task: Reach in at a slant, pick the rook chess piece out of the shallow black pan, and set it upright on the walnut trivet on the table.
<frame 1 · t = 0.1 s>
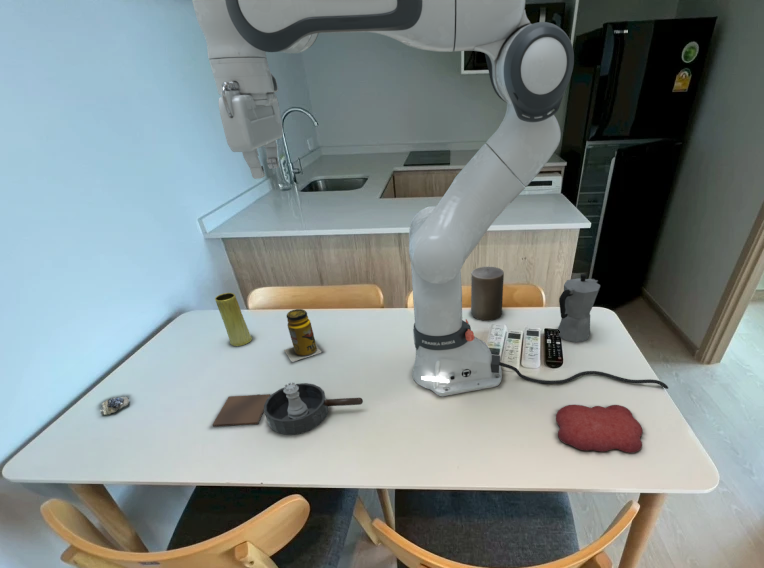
hand: (267, 172, 76), 48 cm above the table, tool pointing down, fingers open, 8 cm apart
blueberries: (114, 406, 99), on the table
pan: (299, 414, 94), on the table
walnut trivet: (243, 410, 96), on the table
patty: (597, 429, 87), on the table
condiment: (303, 352, 116), on the table
coffeepot: (570, 336, 117), on the table
pan handle: (343, 401, 92), point 2 cm above the table
pillar candle: (486, 314, 130), on the table
rook chess piece: (298, 414, 94), resting on pan
vase: (241, 341, 122), on the table
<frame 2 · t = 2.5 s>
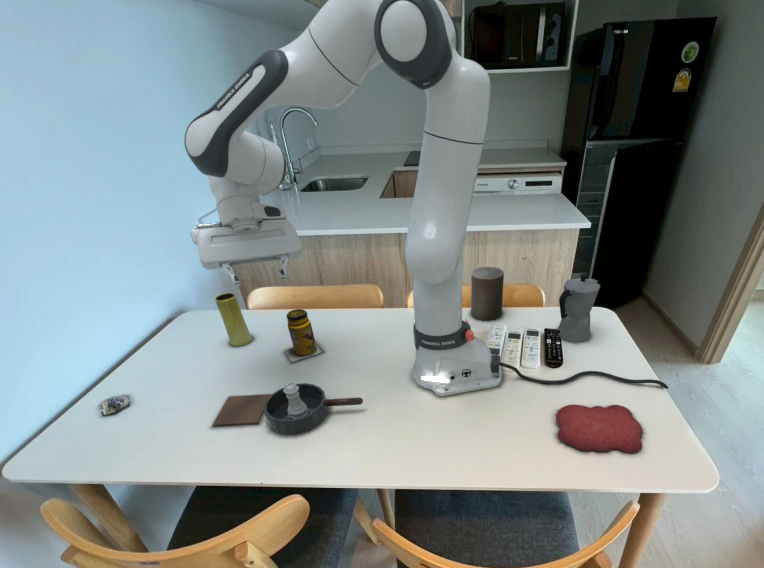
hand: (261, 281, 87), 28 cm above the table, tool tilted 40°, fingers open, 8 cm apart
nothing on the table moved.
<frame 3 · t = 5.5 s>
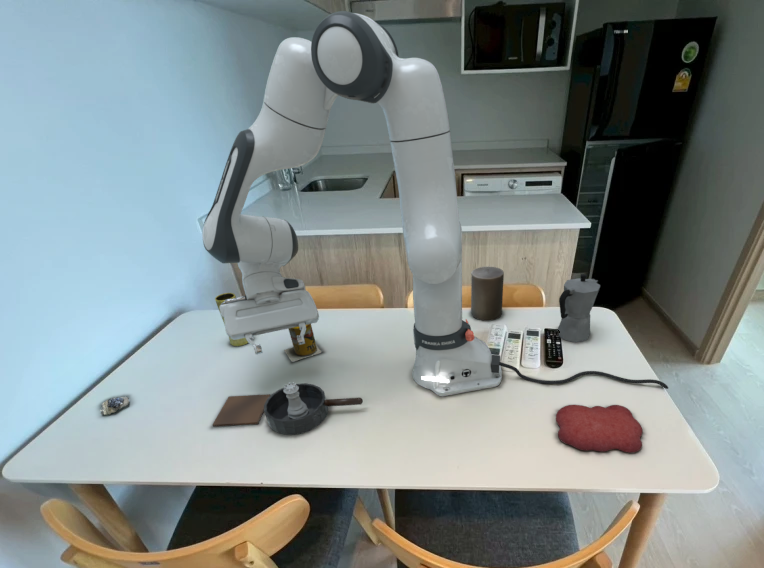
hand: (280, 348, 94), 13 cm above the table, tool tilted 45°, fingers open, 8 cm apart
nothing on the table moved.
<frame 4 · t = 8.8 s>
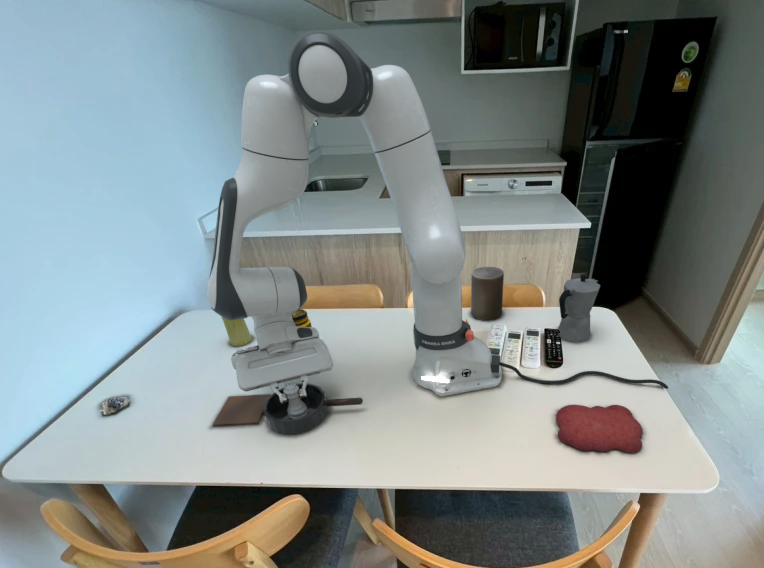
hand: (294, 399, 91), 5 cm above the table, tool tilted 45°, fingers closed on rook chess piece, 3 cm apart
rook chess piece: (298, 414, 94), resting on pan, touching gripper
everything else where it was.
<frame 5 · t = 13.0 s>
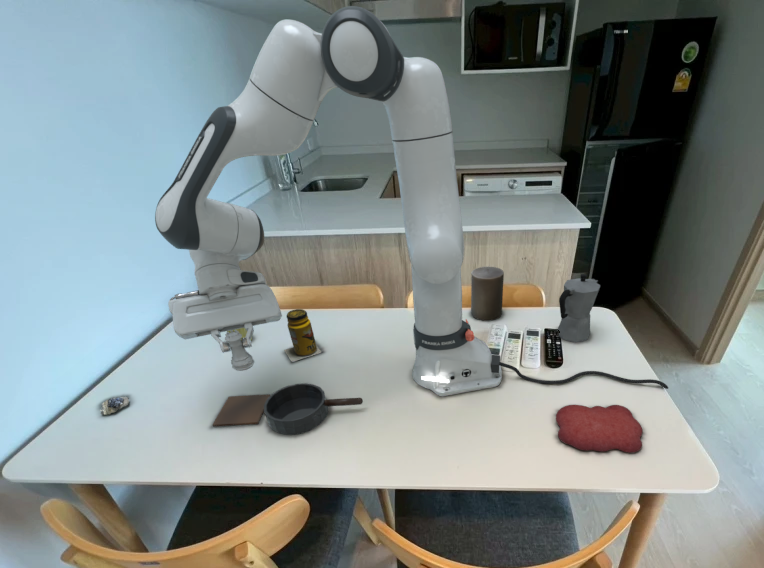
hand: (237, 349, 84), 18 cm above the table, tool tilted 45°, fingers closed on rook chess piece, 3 cm apart
rook chess piece: (244, 366, 88), point 13 cm above the table, touching gripper
everything else where it was.
when the fingers open (5 cm above the table, at t = 17.3 s): rook chess piece stays where it is, resting on walnut trivet.
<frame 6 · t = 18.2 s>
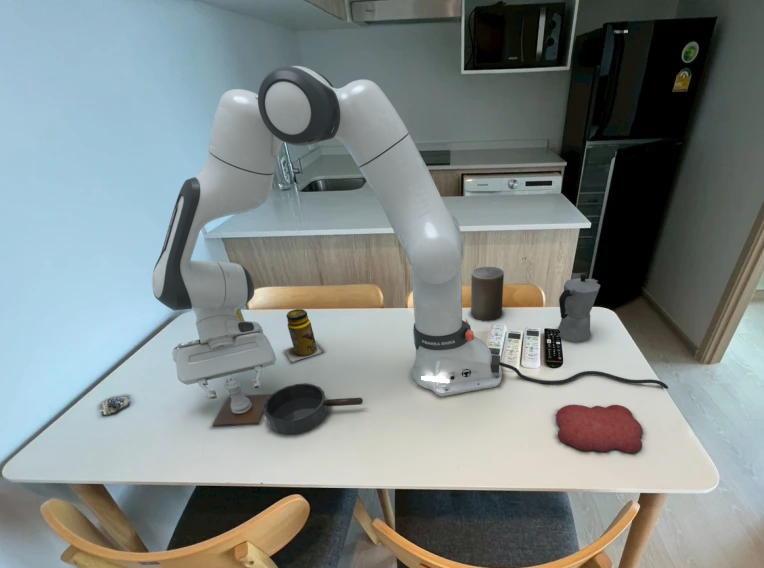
hand: (235, 393, 92), 6 cm above the table, tool tilted 45°, fingers open, 8 cm apart
rook chess piece: (242, 409, 96), resting on walnut trivet
everything else where it was.
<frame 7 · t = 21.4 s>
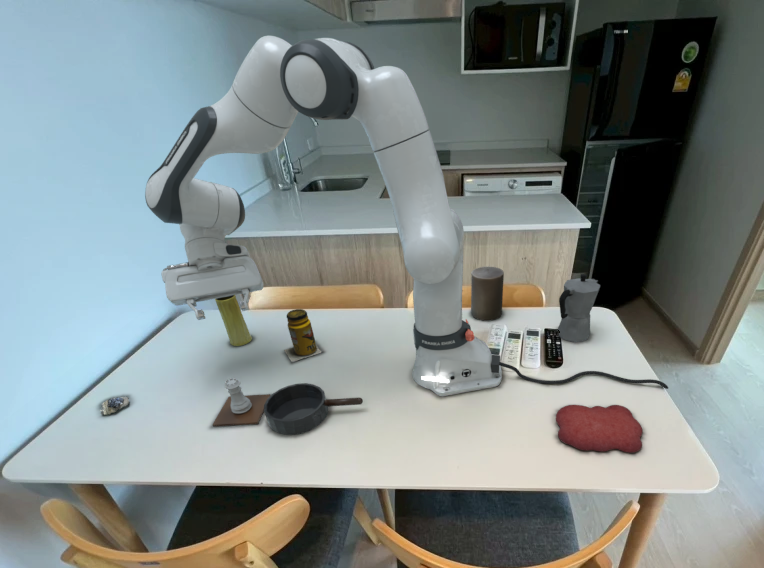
hand: (223, 314, 94), 19 cm above the table, tool tilted 45°, fingers open, 8 cm apart
nothing on the table moved.
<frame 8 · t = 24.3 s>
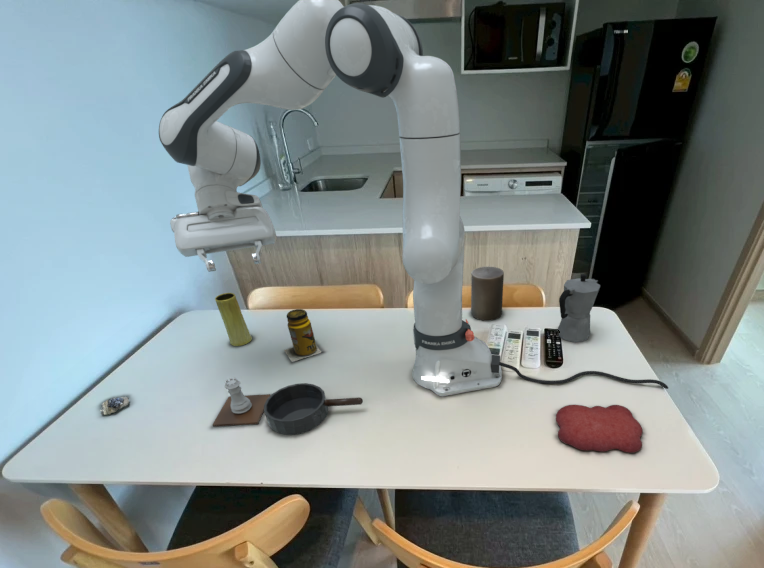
hand: (235, 266, 90), 29 cm above the table, tool tilted 45°, fingers open, 8 cm apart
nothing on the table moved.
at the end: rook chess piece inside the target area on the walnut trivet (0.0 cm from its centre), point 0.4 cm above the walnut trivet's base; rook chess piece tilted 0°; the gripper is holding nothing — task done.
